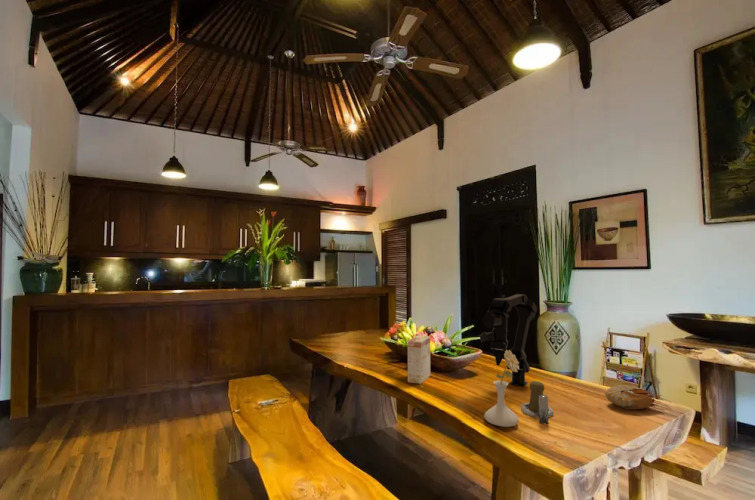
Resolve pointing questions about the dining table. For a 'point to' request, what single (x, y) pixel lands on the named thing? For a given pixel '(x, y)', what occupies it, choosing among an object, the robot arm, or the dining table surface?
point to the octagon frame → (543, 409)
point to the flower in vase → (500, 411)
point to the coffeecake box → (418, 359)
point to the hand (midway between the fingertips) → (498, 363)
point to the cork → (535, 395)
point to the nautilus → (632, 397)
